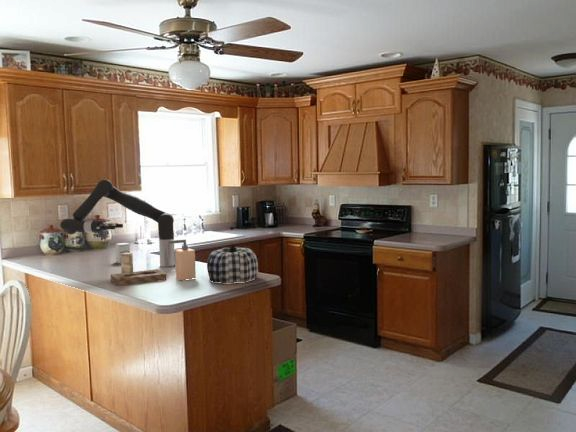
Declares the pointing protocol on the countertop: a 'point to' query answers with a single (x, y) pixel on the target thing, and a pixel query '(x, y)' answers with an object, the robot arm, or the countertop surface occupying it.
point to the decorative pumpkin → (232, 265)
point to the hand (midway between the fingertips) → (118, 226)
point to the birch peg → (127, 263)
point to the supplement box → (121, 250)
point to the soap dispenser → (184, 261)
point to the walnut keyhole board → (138, 277)
